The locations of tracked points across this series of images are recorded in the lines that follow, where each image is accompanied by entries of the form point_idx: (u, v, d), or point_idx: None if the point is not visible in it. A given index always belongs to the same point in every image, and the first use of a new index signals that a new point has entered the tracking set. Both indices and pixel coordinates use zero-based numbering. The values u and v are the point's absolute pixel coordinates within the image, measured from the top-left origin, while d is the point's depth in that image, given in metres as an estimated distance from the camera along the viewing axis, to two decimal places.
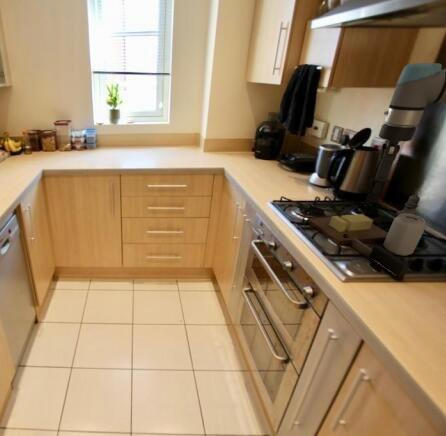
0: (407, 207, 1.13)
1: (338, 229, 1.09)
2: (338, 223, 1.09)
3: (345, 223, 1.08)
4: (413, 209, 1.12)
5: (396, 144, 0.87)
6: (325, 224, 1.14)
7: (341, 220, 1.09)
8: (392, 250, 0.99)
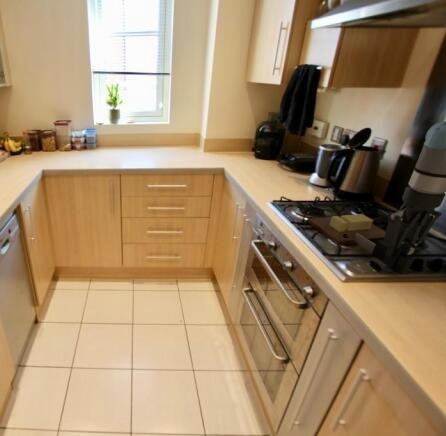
0: None
1: (338, 229, 1.09)
2: (338, 223, 1.09)
3: (345, 223, 1.08)
4: None
5: (408, 207, 0.81)
6: (325, 224, 1.14)
7: (341, 220, 1.09)
8: None
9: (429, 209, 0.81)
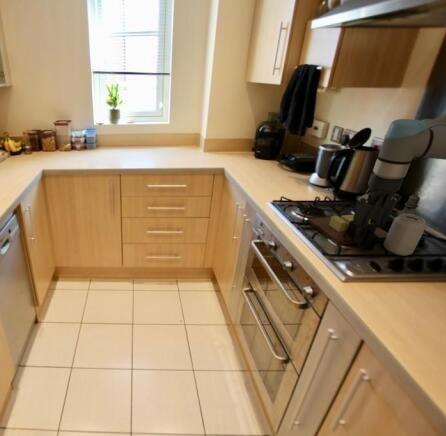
0: (407, 207, 1.13)
1: (338, 228, 1.09)
2: (337, 223, 1.09)
3: (345, 223, 1.08)
4: (413, 209, 1.12)
5: (372, 191, 0.93)
6: (325, 224, 1.14)
7: (340, 220, 1.09)
8: (392, 250, 0.99)
9: (390, 193, 0.94)
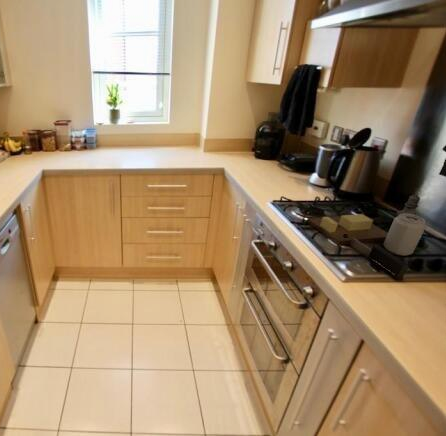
0: (407, 207, 1.13)
1: (329, 229, 1.09)
2: (328, 224, 1.09)
3: (336, 224, 1.08)
4: (413, 209, 1.12)
5: None
6: None
7: (332, 221, 1.09)
8: (392, 250, 0.99)
9: None
